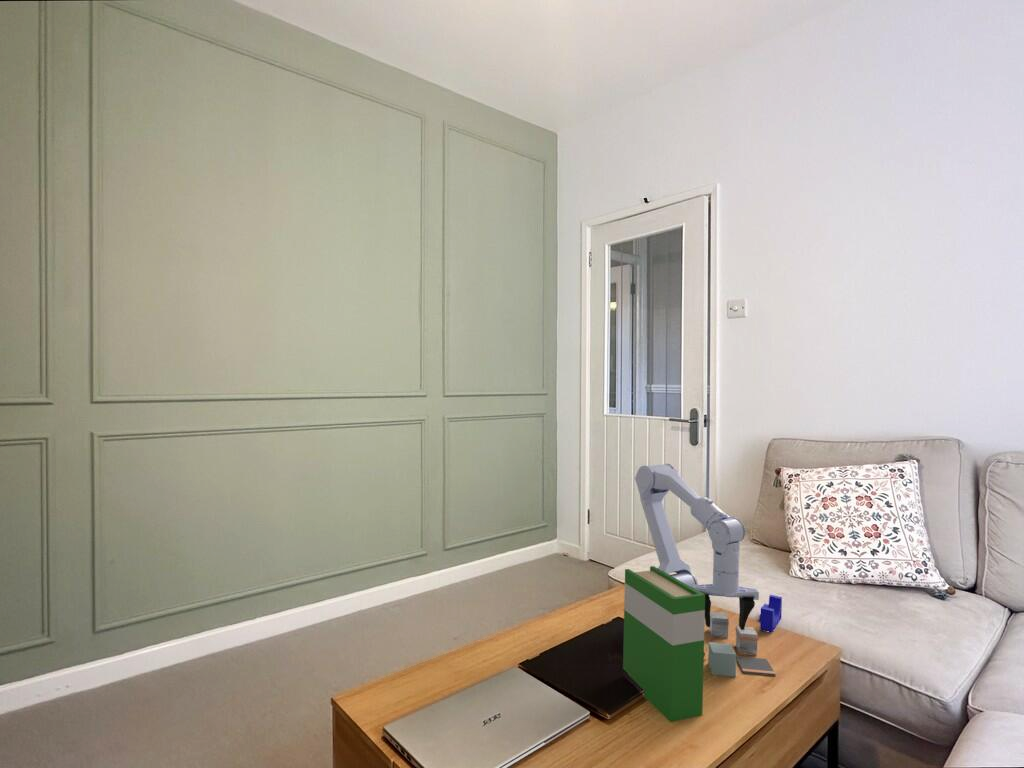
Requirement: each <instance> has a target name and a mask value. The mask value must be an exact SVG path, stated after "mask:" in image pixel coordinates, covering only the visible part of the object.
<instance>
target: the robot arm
mask: <svg viewBox="0 0 1024 768" xmlns="http://www.w3.org/2000/svg"><path fill="white" fill-rule="evenodd" d="M634 480H635V483H636V487H637V489H638V494H639V498H640V499H639V500H640V503H641V505H642V510H643V512H644V516H645V519H646V522H647V526H648V530H649V533H650V536H651V539H652V542H653V545H654V549H655V552H656V555H657V558H658V562H659V565H658V566H657V568H658V569H660V570H661V571H663V572H665V573H667V574H669V575H670V576H672V577H674V578H676V579H678V580H679V581H681V582H683V583H685V584H687V585H688V586H690V587H692V588H694V589H696V590H697V591H699V592H701V593H703V594H705V626H706V627H707V628H709V627H710V612H711V607H712V601H711V597H710V596H713V597H714V596H715V597H725V598H738V599H739V600H738V601H739V602H738V603H739V616H738V626H739V627H740V629H741V630H744V628H745V627H746V624H747V620H748V618H749V616H750V614H751V612H752V610H753V609H754V608H755V605H756V603H755V601H759V600H760V592H759V590H758V589H757V588H751V587H746V586H745V587H744V586H740V585H739V584H740V583H739V582H740V581H739V580H740V579H739V578H740V544H741V543H740V542H742V541H743V540H744V538H745V537H746V528H745V526H744V523H743V522H742V521H741V520H740V518H739V517H735V516H729V515H728V514H727V513H726V512H725V511H723V510H722V509H720V508H719V507H718V506H717V505H716V504H715V503H714V500H713V499H712V498H708V497H705V496H704V497H701V496H699V495H698V493H696V492H695V490H693V489H692V487H690V485H688V483H687V482H686V481H685V480H684V479H683V478H682V477H681V475H680V470H678V469H676V468H675V466H674V465H672V464H671V463H664V464H655V465H654V464H653V465H641V466H640V467H638V469H637V472H636V475H635V477H634ZM669 492H671V493H672V494H673V495H675V496H676V497H677V498H679V500H681V501H682V502H683V503H685V504H686V505H687V506H688V507H690V513H691V516H692V517H694V518H695V519H696V520H697V521H698V522H699V523H700V524H701V525H702V526H703V528H705V529H706V530H707V532H708V536H709V538H710V540H711V547H712V550H713V561H712V567H713V568H712V583H705V584H699V582H698V580H697V578H696V576H695V575H694V573H693V572H692V570H691V567H690V565H689V564H688V563H686V562H685V561H684V560H682V559H681V557H680V554H679V551H678V548H677V544H676V541H675V538H674V536H673V532H672V529H671V526H670V523H669V520H668V516H667V514H666V511H665V506H664V503H663V500H664V498H665V497H666V496H667V494H669ZM672 573H673V574H672Z"/></svg>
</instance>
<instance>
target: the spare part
mask: <svg viewBox="0 0 1024 768" xmlns="http://www.w3.org/2000/svg"><path fill="white" fill-rule="evenodd" d="M758 640H759V638H758V633H757V631H756V630H755V629H754V627H752V626H745V628H744V630H741V629H740V627H739V625H737V626H735V647H736V649H737V651H738V653H739V654H740V653H743V654H742V655H750V654H757V655H758ZM744 653H745V654H744Z"/></svg>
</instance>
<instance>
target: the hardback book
mask: <svg viewBox="0 0 1024 768" xmlns="http://www.w3.org/2000/svg"><path fill="white" fill-rule="evenodd" d="M670 575H671V574H667V573H665V572H663V571H661V570H660V569H658V567H656V566H653V565H651V566H649V570H643V571H635V572H634V571H633V570H631V569H629V568H625V569H624V598H623V599H624V600H623V601H624V602H623V603H624V605H623V609H624V610H623V613H624V614H623V648H622V649H623V650H622V651H623V653H622V655H623V657H622V659H623V660H622V670H623V669H624V670H625V671H626V672H627V673H628V675H629V676H630V677H631V678H632V679H633V680H634V681H635V682H636V683H637V684H638V685H639V686H640V687H641V688H642V689H643V690H644V696H643V698H645V699H646V701H647V702H649V704H651V705H652V706H653V707H654V708H655V709H656V710H657V711H658V712H659V713H660V714H662V716H663V717H665V718H666V720H667V721H669V722H670V723H675V722H679V721H683V720H688V719H691V718H696V717H700V716H703V703H704V701H703V700H704V699H703V697H704V696H703V695H704V663H705V662H704V660H705V657H704V656H705V626H706V623H705V594H703V593H701V592H699V591H697V590H696V589H694V588H692V587H690V586H688V585H687V584H685V583H683V582H681V581H679V580H678V579H676V578H674V577H672V576H670Z"/></svg>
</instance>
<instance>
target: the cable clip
mask: <svg viewBox="0 0 1024 768" xmlns="http://www.w3.org/2000/svg"><path fill="white" fill-rule="evenodd" d="M782 605H783V596H778V595H776V594H775V595H774V594H769V596H768V603H763V605H762V606H761V607H760V614H759V617H758V618H759V619H758V621H759V622H760V624H759V628H760V629H761V630H760V629H759V630H760V631H762V630H765V631H764V632H766V631H769V632H768V633H770V632H773V633H774V631H775V630H774V629H776V628H777V625H778V624H779V623H780V621H781V620H782V611H783V609H782ZM773 630H774V631H773Z"/></svg>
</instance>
